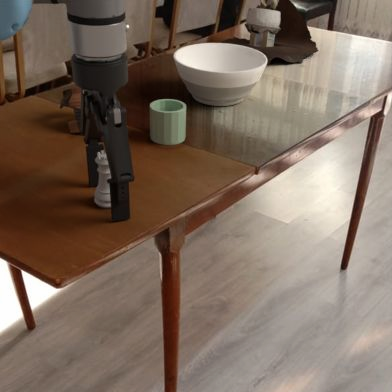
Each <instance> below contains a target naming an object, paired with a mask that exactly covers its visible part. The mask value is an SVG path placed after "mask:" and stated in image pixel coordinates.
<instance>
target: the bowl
mask: <svg viewBox="0 0 392 392" xmlns="http://www.w3.org/2000/svg"><path fill="white" fill-rule="evenodd" d="M173 61H174V64H175V67H176V70H177V73H178V75H179V77H180V79H181V82H182V83H183V84H184V85H185V87H186V90H187V91H188V93H189V94H190V95H191V96H192V98H193V99H194V100H195V101H197V102H199V103H201V104H204V105H207V106H214V107H229V106H235V105H238V104H240V103H242V102H243V101H244V100H245V98H246V97H247V96H248V95H250V93H251V92H252V90H253V89H254V88H255V87H256V85H257V83H258V82H259V80H260V79H261V77H262V75H263V73H264V71H265V69H266V67H267V65H266V64H267V57H266V56H265V55H264V54H263V53H261V52H260V51H258V50H255V49H252V48H249V47H246V46H241V45H235V44H227V43H222V42H201V43H194V44H189V45H186V46H182V47H180V48H178V49H177V50H175V51H174V53H173Z"/></svg>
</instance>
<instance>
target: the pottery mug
mask: <svg viewBox="0 0 392 392" xmlns="http://www.w3.org/2000/svg"><path fill="white" fill-rule="evenodd" d="M61 93H62V98H61V100H60V105H59V109H60V110H61V109H63V107H67V108H71V109H73V114H74V116H75V119H72V120H69V121H68V122H67V126H68V129H69V133H70V134H79V133H80V131H81V130H80V128H81V88H80V87H78V86H77V87H70V88H67V89H64V90H62V92H61Z"/></svg>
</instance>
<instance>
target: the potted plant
mask: <svg viewBox="0 0 392 392" xmlns="http://www.w3.org/2000/svg"><path fill="white" fill-rule="evenodd" d="M259 1H260V2H259V3H260V4H258V5H256V7H249V8H248V10H247V12H246V17H245V23H244V27H245V29H246V31H247V32H248V34H249V39H247V38H245V37H244V38H242V37H241V38H239V37H237V36H233V37H232V38H227V39H224V40H222V41H221V43H227V44H235V45H241V46H246V47H249V48H252V49H255V50H258V51H260V52H261V53H263V54H264V55H265V56H266V57H267V64H266V66H268V67H269V65H270V63H271V61H272V60H273V59H275V58H279V59H282V60H283V61H285V62H286V63H301V64H303V63H304V59H306V58H307V57H310V56H314V54H315V53H317V52H319V48H318V47H317V43H316V41H314V40H312V38H313V37H312V35H311V31H310V30H309V27H308V24H307V23H306V21H305V19H304V17H303V15H302V14H301V13H300V12H299V10H298V8H297V6H296V5H295V4H294V3H293V2H292V1H291V0H259Z"/></svg>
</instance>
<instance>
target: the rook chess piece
mask: <svg viewBox="0 0 392 392" xmlns="http://www.w3.org/2000/svg"><path fill="white" fill-rule="evenodd" d="M95 162H96V163H97V164H98V166H99V167H98V168H97V171H98V172H99V183H98V185H97V186H96V189H95V190H94V195H93V196H94V199H93V200H94V201H93V202H94V203H95V204H96V205H97V207H99V208H103V209H111V202H110V187H109V184H108V183H107V179H110V178H111V174H110V169H109V165H108V160H107V156H106V152H105V149H104V150H103V151H101V154H100V152H98V153H97V157H96V159H95Z"/></svg>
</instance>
